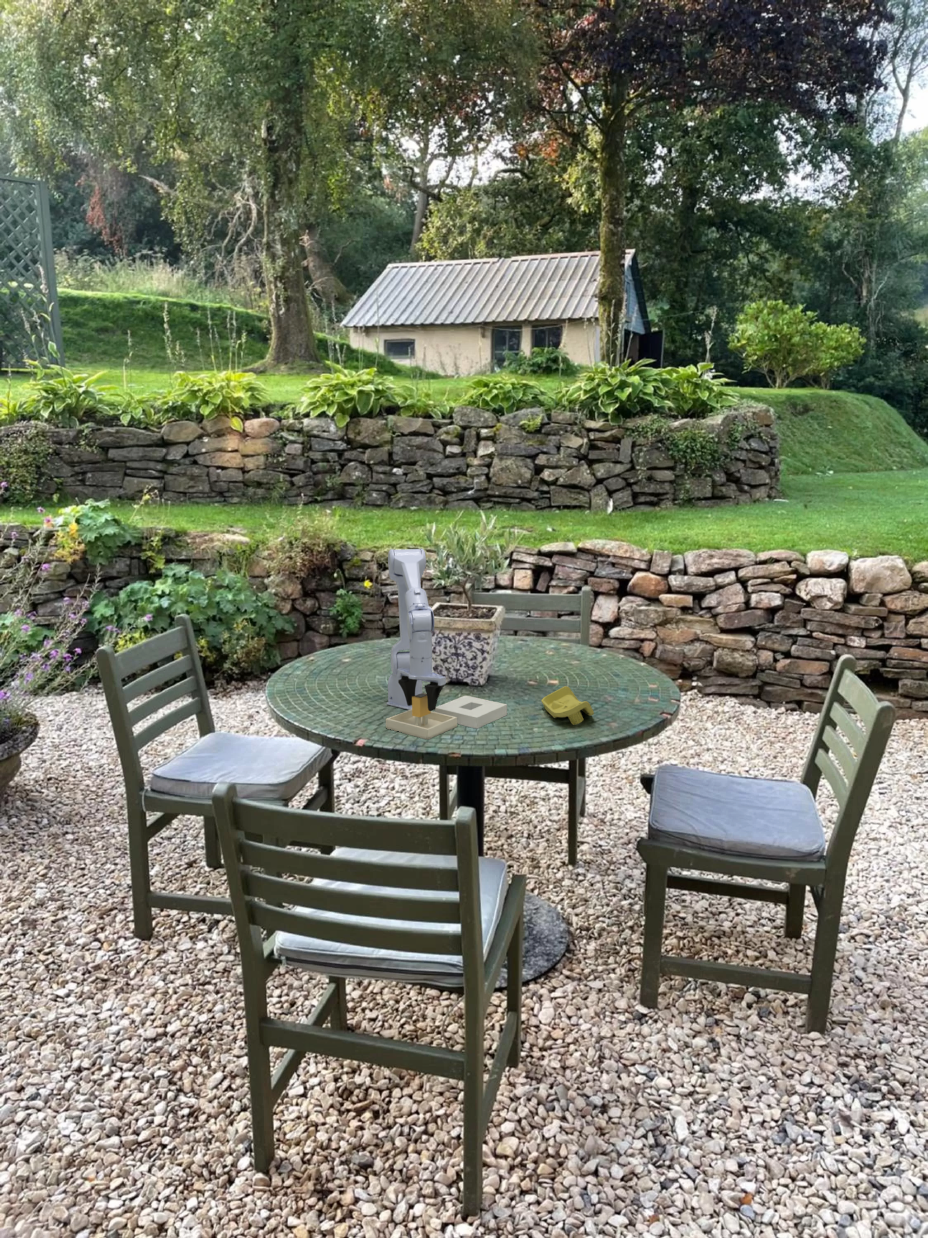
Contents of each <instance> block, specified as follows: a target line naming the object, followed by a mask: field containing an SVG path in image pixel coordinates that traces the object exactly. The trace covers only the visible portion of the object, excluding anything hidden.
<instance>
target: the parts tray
mask: <svg viewBox="0 0 928 1238" xmlns="http://www.w3.org/2000/svg"><path fill="white" fill-rule="evenodd" d="M457 727H458V724H457V717H453V716H449V715H445V714H441V713H436V712H435V711H433V710H432V711H431V713H430V714H428V724H426V725H424V724H422V717H421V727H419V726H415V716H412V709H410V710H408V709H407V710H405V711H403V712H400V713H398V714H395V715H392V716H389V717H387V718H385V729H386V728H387V730H390V729H391V731H393V730H394V732H397V731H399V732H398V733H401V732H402V734H405V735H409V736H413V737H416V738H421V739H424V740H430V739H433V738H436V737H437V736H439V735H442V734H444V733H447V732H449V731H451V730H453V729H455V728H457Z"/></svg>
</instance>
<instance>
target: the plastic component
mask: <svg viewBox="0 0 928 1238" xmlns="http://www.w3.org/2000/svg"><path fill="white" fill-rule="evenodd" d="M541 703H542V705H543V707H544V709H545V711H546V712H548V713H549V715H550V716H552V717H553V718H554V719H557V718H566V717H567V718H568V719H569V721H570V723H571V725H573V726H576V725H577V726H578V724H581V723H582V722H583V721H584V718H583V715H582V712H583V713H584V714H586V715H587V716H589V717H591V716H594V715H595V713H594V710H593V708H592V706H591V704H590V702H588V701H585V700H584V701H581V700H579V699H578V697H577V696H576V695H575V693H574V692H573V691H572V689H571V688H570V686H566V685H565V686H562V687H561V688H559V689H557V690H554V691H553V692H551V693H549V694H547V695H546V696H544V697H543V698H542V699H541ZM581 711H582V712H581Z"/></svg>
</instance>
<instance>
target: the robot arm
mask: <svg viewBox="0 0 928 1238" xmlns="http://www.w3.org/2000/svg"><path fill="white" fill-rule="evenodd" d="M387 562H388V575H389V580H391V581H394V582H395V584H396V586H397V587H396V588H397V599H398V602H397V603H398V617H399V618H398V619H399V622H398V623H399V640H398V641H396V643H394V644H393V645H391V646H392V647H391V649H390V670H391V672H392V673H391V674H390V676H389V678H388V680H387V702H386V703H385V704H386V705H388V706H391V707H396V708H400V709H404V710H407V711H408V710H410V709H412V697H413V696H415V695H418V694H421V693H423V682H426V683H428V684H426V685H424V689H425V694H427V699H428V710H429V711H432V712H433V711H435V708H436V707H437V703H438V699H439V697H440V694H441V692H442V690H443V688H444V687H445V685H446V682H447V680H446V676H443V675H441V674H438V673H436V672H434V671H433V633H434V630H435V626H436V625H435V621H436V620H435V615H434V610H433V609H432V607H431V606H430V605H429V601H428V600H429V599H428V595H427V592H426V590H425V589H424V588H422V586H421V579H422V577H423V575H424V574H425V573H424V572H425V569H426V567H427V566H426V564H427V557H426V552H425V550H424V549H423V548H421V547H420V548H413V549H411V548H410V549H405V548H404V549H393V548H392V549H391V548H390V550H389V551H388V555H387ZM406 650H408V651H406Z"/></svg>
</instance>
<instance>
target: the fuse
mask: <svg viewBox="0 0 928 1238" xmlns="http://www.w3.org/2000/svg"><path fill="white" fill-rule="evenodd" d="M430 713H431V711H429V710H428V699H427V693H426V692H425V693H424V692H422V693H421V694H418V695H415V696H413V697H412V716H415V726H419V727H421V717H422V724H424V725H426V724H428V714H430Z"/></svg>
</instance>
